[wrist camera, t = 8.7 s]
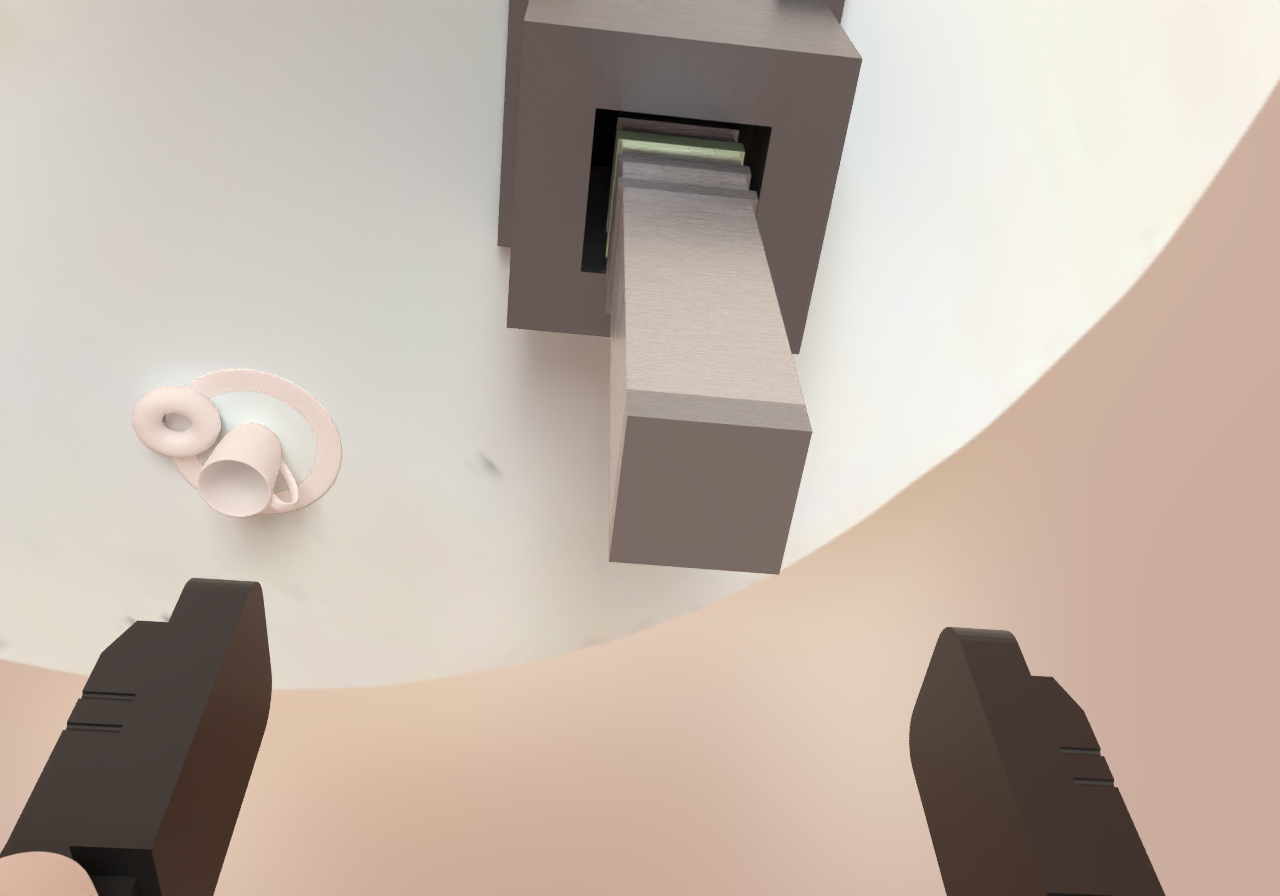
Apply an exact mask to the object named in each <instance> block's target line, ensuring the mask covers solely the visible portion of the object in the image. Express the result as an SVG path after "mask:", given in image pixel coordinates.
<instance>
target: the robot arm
mask: <svg viewBox="0 0 1280 896" xmlns="http://www.w3.org/2000/svg"><path fill="white" fill-rule="evenodd" d="M271 691H272V674H271V664H270V655H269V646H268V637H267V628H266V619H265V610H264V601H263V593H262V588H261V586H260V584H259V583H258V582H251V581H235V580H219V579H203V578H191V579H190V580H189V581H188V582H187V583H186V585H185V587H184V589H183V591H182V593H181V595H180V598H179V600H178V602H177V604H176V607H175V609H174V611H173V613H172V616H171V618H170V620H169V622H151V621H136V622H135V623H134V624H133V625H132V626H131V627H130V628H129V629H127V630H126V631H125V632H124V633H123V634H122V635H121V636H120V637H119V638H117V639H116V640H115V641H114V642H113V643H112V644H111V645H110V646H109V647H108V648H106V649H105V650H104V651H103V652H102V653H101V655H100V657H99V659H98V661H97V663H96V665H95V667H94V669H93V671H92V673H91V675H90V677H89V679H88V681H87V683H86V685H85V687H84V689H83V695H82V698H81V699H78V701H77V703H76V705H75V707H74V709H73V711H72V713H71V715H70V717H69V719H68V721H67V728H66V730H63V731H62V733H61V736H60V737H59V739H58V741H57V743H56V745H55V747H54V749H53V751H52V753H51V755H50V757H49V760H48V761H47V763H46V765H45V767H44V769H43V772H42V773H41V775H40V778H39V779H38V781H37V783H36V785H35V787H34V790H33V791H32V793H31V795H30V798H29V799H28V802H27V803H26V805H25V808H24V809H23V811H22V814H21V815H20V818H19V819H18V821H17V824H16V826H15V828H14V830H13V832H12V834H11V836H10V838H9V840H8V842H7V844H6V845H5V847H4V849H3V850H2V852H1V854H0V896H213V894H214V891H215V888H216V885H217V882H218V878H219V875H220V872H221V869H222V865H223V862H224V859H225V856H226V853H227V849H228V846H229V843H230V840H231V837H232V834H233V830H234V827H235V824H236V821H237V818H238V815H239V811H240V808H241V805H242V802H243V799H244V796H245V792H246V789H247V786H248V783H249V780H250V776H251V773H252V770H253V767H254V763H255V760H256V757H257V754H258V751H259V748H260V745H261V741H262V738H263V735H264V731H265V728H266V725H267V720H268V714H269V709H270V701H271ZM909 736H910V737H909V742H910V743H909V746H910V757H911V763H912V767H913V771H914V775H915V779H916V783H917V786H918V790H919V794H920V797H921V801H922V805H923V808H924V812H925V816H926V820H927V823H928V827H929V831H930V835H931V838H932V842H933V846H934V850H935V853H936V857H937V861H938V865H939V868H940V872H941V876H942V880H943V883H944V887H945V891H946V894H947V896H1165V894H1164V891H1163V889H1162V887H1161V885H1160V882H1159V880H1158V878H1157V876H1156V873H1155V871H1154V869H1153V866H1152V864H1151V862H1150V860H1149V857H1148V855H1147V853H1146V851H1145V848H1144V846H1143V844H1142V842H1141V839H1140V837H1139V835H1138V832H1137V830H1136V828H1135V826H1134V823H1133V821H1132V819H1131V817H1130V814H1129V812H1128V810H1127V807H1126V805H1125V803H1124V801H1123V798H1122V796H1121V794H1120V792H1119V789H1118V788H1117V787H1114V778H1113V776H1112V774H1111V771H1110V769H1109V767H1108V765H1107V762H1106V760H1105V758H1104V756H1101V755H1100V746H1099V744H1098V742H1097V740H1096V737H1095V735H1094V733H1093V730H1092V728H1091V726H1090V724H1089V722H1088V719H1087V717H1086V715H1085V712H1084V711H1083V710H1082V709H1081V707H1080V706H1079V705H1078V704H1077V703H1076V702H1075V701H1074V700H1073V699H1072V698H1071V697H1070V696H1069V695H1068V693H1067V692H1066V691H1065V690H1064V689H1063V688H1062V687H1061V686H1060V685H1059V684H1058V683H1057V682H1056V681H1055V679H1054V678H1053V677H1043V676H1031V675H1030V672H1029V669H1028V667H1027V665H1026V662H1025V660H1024V657H1023V655H1022V652H1021V650H1020V647H1019V645H1018V642H1017V640H1016V638H1015V637H1014V636H1013V634H1012V633H1010V632H1009V631H1004V630H989V629H988V630H987V629H972V628H956V627H947V628H945V629H944V630H943V631H942V632H941V634H940V636H939V638H938V641H937V644H936V647H935V649H934V652H933V655H932V658H931V661H930V664H929V667H928V669H927V673H926V675H925V678H924V681H923V684H922V687H921V690H920V693H919V695H918V698H917V701H916V704H915V707H914V710H913V714H912V718H911V724H910V734H909Z"/></svg>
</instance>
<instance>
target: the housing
mask: <svg viewBox="0 0 1280 896" xmlns="http://www.w3.org/2000/svg"><path fill="white" fill-rule="evenodd" d="M844 2H845V0H509V20H508V40H507V61H506V81H505V102H504V123H503V143H502V164H501V184H500V205H499V225H498V246H505V247H511V259H510V277H509V295H508V313H507V328H518V329H529V330H540V331H550V332H561V333H572V334H583V335H594V336H605V337H610V313H605V298H606V288H607V284H606V283H605V273H606V263H607V257H606V240H607V232H606V220H607V211H608V201H609V191H610V181H611V172H612V168H610V167H601V166H591V154H592V144H593V133H594V122H595V111H596V108H600V109H610V110H619V111H628V112H638V113H647V114H656V115H666V116H675V117H685V118H694V119H703V120H713V121H722V122H730V123H737V125H738V129H739V133H738V139H737V143H743V147H744V150H745V155H744V161H743V166H749V168H750V172H751V180H750V185H749V190H751V191H756V193H757V197H758V206H757V211H756V221H757V225H758V229H759V232H760V236H761V240H762V244H763V247H764V251H765V255H766V259H767V263H768V266H769V270H770V274H771V278H772V282H773V285H774V289H775V293H776V297H777V300H778V304H779V308H780V312H781V316H782V319H783V323H784V327H785V331H786V334H787V338H788V342H789V346H790V350H791V353H792V354H799V351H800V347H801V342H802V337H803V333H804V328H805V324H806V319H807V314H808V310H809V305H810V300H811V296H812V291H813V286H814V282H815V277H816V272H817V268H818V263H819V258H820V254H821V249H822V244H823V240H824V235H825V230H826V226H827V221H828V216H829V212H830V207H831V202H832V198H833V193H834V188H835V184H836V179H837V174H838V170H839V165H840V160H841V156H842V151H843V147H844V142H845V137H846V133H847V128H848V123H849V119H850V114H851V109H852V105H853V100H854V95H855V91H856V86H857V81H858V77H859V72H860V67H861V63H862V57H861V56H860V54H859V53H858V51H857V50H856V48H855V47H854V45H853V44H852V42H851V41H850V39H849V38H848V36H847V35H846V33H845V32H844V30H843V29H842V27H841V26H840V22H841V17H842V12H843V7H844Z"/></svg>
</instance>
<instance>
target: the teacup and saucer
mask: <svg viewBox="0 0 1280 896" xmlns="http://www.w3.org/2000/svg"><path fill="white" fill-rule="evenodd" d="M240 390H246V391H256V392H261V393H265V394H268V395H271V396H274V397H276V398H278V399H281V400H282V401H284V402H286V403H288V404H289V405H290V406H292V407H293V408H294V409H296V410H297V411H298V412H299V413H300V414H301V415H302V416H303V417H304V418H305V420H306V421H307V422H308V424H309V425H310V427H311V429H312V431H313V433H314V435H315V439H316V443H317V459H316V463H315V466H314V468H313V470H312V471H311V473H310V474H309V476H308V477H307V478H306V479H305V480H304V481H303V482H301V483H300V484H299V485H297V483H296V481H295V479H294V477H293V475H292V473H291V471H290V470H289V468H288V467H287V465H286V464H285V463H284V461H283V460H282V459H281V447H280V442H279V440H278V438H277V436H276V434H275V433H274V432H273V431H272V430H271V429H270V428H268V427H267V426H265V425H262V424H259V423H252V422H251V423H244V424H241V425H238V426H236V427H235V428H233V429H232V430H230V431H229V432H228V433H227V434H226V435H225V436H224V437H223V438H222V439H221V441H220V442H219V443H218V445H217V446H216V447H215V449H214V450H213V452H212V453H211V455H210V457H209V458H208V460H207V461H206V463H205V464H204V466H203V465H202V463H201V462H200V461H199V459H198V457H197V455H198V454H200V453H202V452H204V451H206V450H207V449H208V448H210V447H211V446H212V445H213V444H214V442H215V441H216V440H217V438H218V436H219V433H220V430H221V420H220V417H219V414H218V411H217V409H216V407H215V406H214V404H213V403H212V402H211V401H210V399H212V398H213V397H215V396H218V395H220V394H223V393H226V392H231V391H240ZM165 415H166V417H165V423H164V422H163V417H164V416H165ZM132 421H133V427H134V430H135V432H136V434H137V436H138V437H139V439H140V440H141V441H142V442H143V443H144V444H145V445H146V446H147V447H149V448H150V449H152V450H154V451H155V452H157V453H160V454H163V455H166V456H170V457H171V459H172V461H173V463H174V464H175V466H176V467H177V469H178V470H179V472H180V473H181V474H182V475H183V477H184V478H185V479H186V480H187V481H188V482H189V483H190V484H191V485H192V486H194V487H195V488H196V489H197V490H199V493H200V495H201V497H202V498H203V500H204V501H205V502H206V503H207V504H208V505H209V506H210V507H211V508H213V509H214V510H216V511H218V512H220V513H222V514H225V515H228V516H233V517H248V516H252V515H255V514H257V513H258V514H276V513H284V512H289V511H293V510H297V509H299V508H302V507H304V506H307V505H309V504H310V503H312V502H314V501H315V500H317V499H318V498H319V497H321V496H322V495H323V494H324V493H325V492H326V491H327V490H328V489H329V488H330V486H331V485H332V484H333V482H334V480H335V478H336V476H337V474H338V472H339V468H340V464H341V457H342V450H341V442H340V437H339V434H338V431H337V429H336V426H335V424H334V422H333V420H332V419H331V417H330V416H329V414H328V413H327V411H326V410H325V409H324V407H323V406H322V405H321V404H320V403H319V402H318V401H317V400H316V399H315V398H314V397H313V396H312V395H310V394H309V393H308V392H307V391H305V390H304V389H302V388H301V387H299V386H298V385H296V384H294V383H292V382H291V381H289V380H286V379H284V378H282V377H279V376H277V375H274V374H271V373H267V372H263V371H259V370H252V369H224V370H219V371H214V372H211V373H207V374H205V375H202V376H200V377H198V378H196V379H194V380H193V381H191V382H189V383H188V384H187V385H185V386H184V387H182V386H165V387H161V388H157V389H155V390H153V391H151V392H149V393H147V394H146V395H144V396H143V397H142V398H141V399H140V400H139V401H138V403H137V404H136V406H135V408H134V411H133V417H132ZM279 471H280V472H281V474H282V475H283V477H284V478H285V480H286V482H287V484H288V487H289V490H286V491H283V492H279V493H273V491H274V487H275V483H276V480H277V476H278V472H279Z"/></svg>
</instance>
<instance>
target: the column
mask: <svg viewBox="0 0 1280 896" xmlns="http://www.w3.org/2000/svg"><path fill="white" fill-rule="evenodd" d="M738 133H739V129H738V125H737V123H730V122H722V121H713V120H703V119H694V118H685V117H675V116H666V115H656V114H647V113H638V112H628V111H618V114H617V123H616V133H615V143H614V152H613V162H612V172H611V181H610V191H609V201H608V211H607V220H606V232H607V240H606V257H607V263H606V273H605V283H606V284H607V288H606V298H605V313H610V477H609V562H621V563H635V564H648V565H661V566H674V567H687V568H700V569H713V570H726V571H740V572H753V573H766V574H779V573H780V568H781V564H782V560H783V555H784V551H785V547H786V542H787V538H788V534H789V529H790V525H791V521H792V516H793V512H794V508H795V503H796V499H797V495H798V490H799V486H800V482H801V478H802V473H803V469H804V465H805V460H806V456H807V452H808V447H809V443H810V439H811V434H812V429H811V425H810V421H809V418H808V414H807V410H806V406H805V403H804V399H803V395H802V391H801V387H800V384H799V380H798V376H797V372H796V369H795V365H794V361H793V357H792V353H791V350H790V346H789V342H788V338H787V334H786V331H785V327H784V323H783V319H782V316H781V312H780V308H779V304H778V300H777V297H776V293H775V289H774V285H773V282H772V278H771V274H770V270H769V266H768V263H767V259H766V255H765V251H764V247H763V244H762V240H761V236H760V232H759V229H758V225H757V221H756V211H757V206H758V197H757V193H756V191H751V190H749V185H750V180H751V172H750V168H749V166H743V161H744V155H745V150H744V147H743V143H737V139H738Z"/></svg>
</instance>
